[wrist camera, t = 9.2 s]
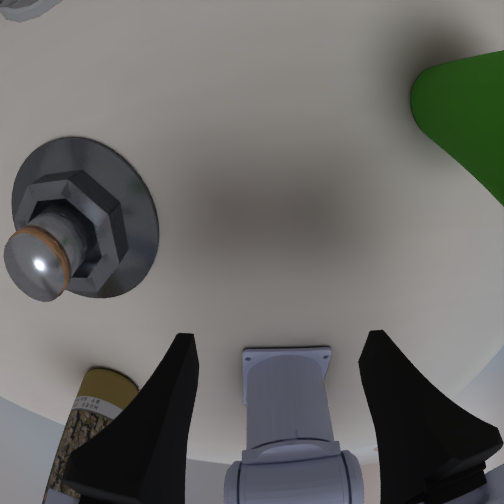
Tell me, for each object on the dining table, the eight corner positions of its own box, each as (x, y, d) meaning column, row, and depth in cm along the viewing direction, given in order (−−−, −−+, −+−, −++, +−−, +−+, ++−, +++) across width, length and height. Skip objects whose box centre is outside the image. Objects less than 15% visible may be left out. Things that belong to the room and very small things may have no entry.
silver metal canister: (97, 193, 18) (50, 236, 13) (106, 254, 21) (71, 307, 16) (44, 194, 18) (-6, 233, 13) (56, 250, 21) (16, 297, 15)
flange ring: (170, 297, 23) (164, 319, 21) (41, 290, 23) (29, 307, 21) (147, 125, 17) (133, 132, 14) (1, 152, 17) (-20, 162, 14)
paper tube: (86, 386, 31) (37, 563, 10) (86, 357, 28) (22, 567, 7) (136, 405, 33) (103, 587, 11) (144, 379, 29) (103, 598, 8)
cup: (459, 186, 18) (560, 270, 9) (360, 133, 17) (470, 202, 8) (499, 85, 14) (616, 123, 5) (406, 13, 12) (533, -13, 3)
